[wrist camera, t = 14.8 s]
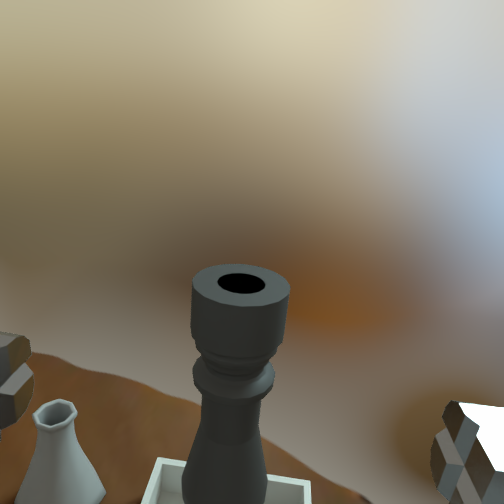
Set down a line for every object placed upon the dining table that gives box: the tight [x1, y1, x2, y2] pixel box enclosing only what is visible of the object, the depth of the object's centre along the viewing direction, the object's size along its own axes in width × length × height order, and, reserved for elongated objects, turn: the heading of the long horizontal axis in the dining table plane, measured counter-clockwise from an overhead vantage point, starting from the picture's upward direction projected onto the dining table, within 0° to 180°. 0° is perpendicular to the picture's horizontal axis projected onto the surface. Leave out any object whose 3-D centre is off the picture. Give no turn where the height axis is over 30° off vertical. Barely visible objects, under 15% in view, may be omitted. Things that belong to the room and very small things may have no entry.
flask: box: [14, 399, 106, 504], centre depth 36 cm, size 7×7×10 cm
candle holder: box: [181, 264, 290, 504], centre depth 28 cm, size 6×6×25 cm
